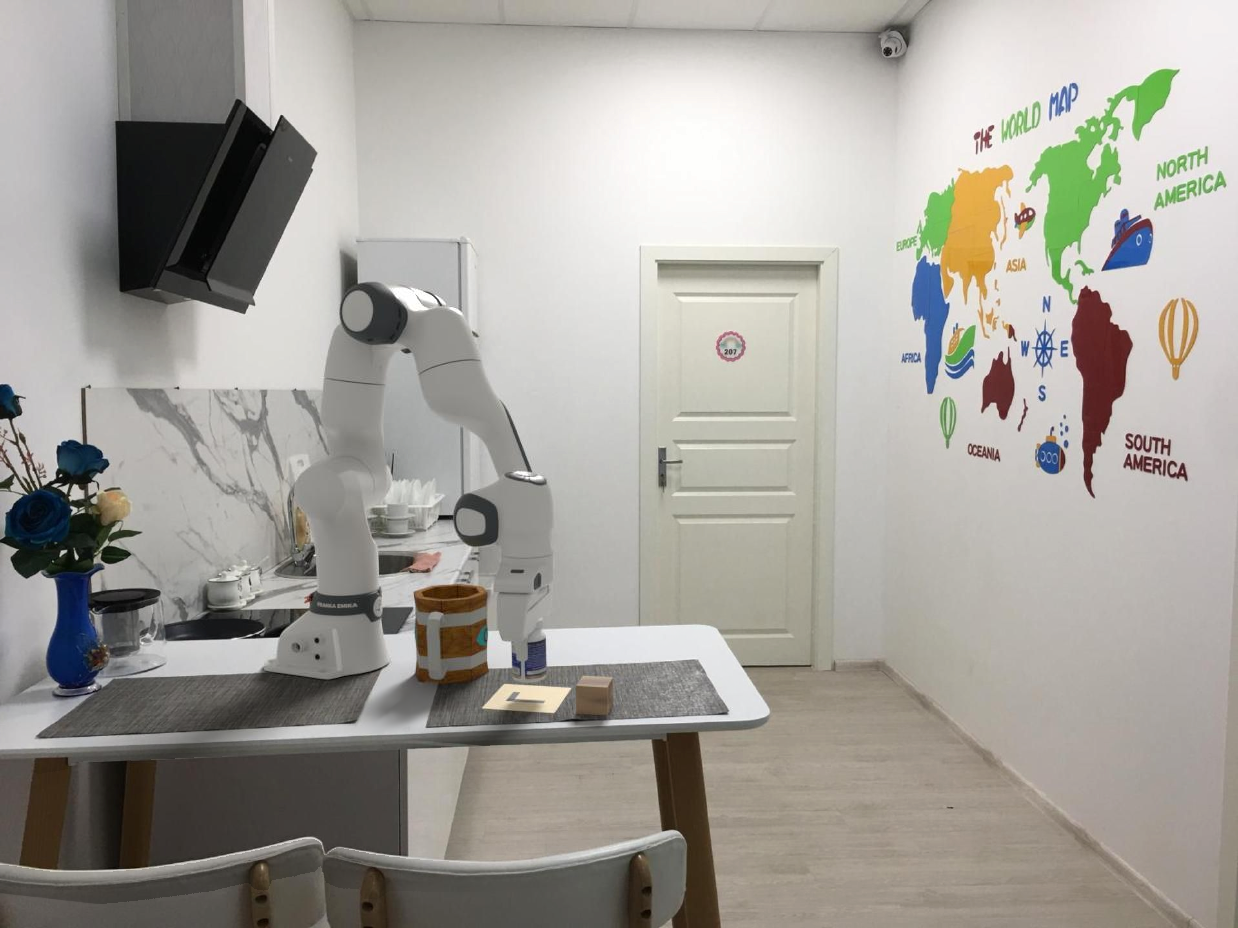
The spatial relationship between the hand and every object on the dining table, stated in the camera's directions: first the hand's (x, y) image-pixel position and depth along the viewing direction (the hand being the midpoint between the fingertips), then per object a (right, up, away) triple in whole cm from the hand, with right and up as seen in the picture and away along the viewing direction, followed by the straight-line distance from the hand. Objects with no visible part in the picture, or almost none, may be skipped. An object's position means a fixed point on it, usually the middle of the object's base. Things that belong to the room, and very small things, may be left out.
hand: (528, 653), depth 149 cm
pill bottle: (0, -4, 0) cm, 4 cm away
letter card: (0, -8, +1) cm, 8 cm away
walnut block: (+11, -8, -4) cm, 15 cm away
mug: (-16, -7, +11) cm, 21 cm away
